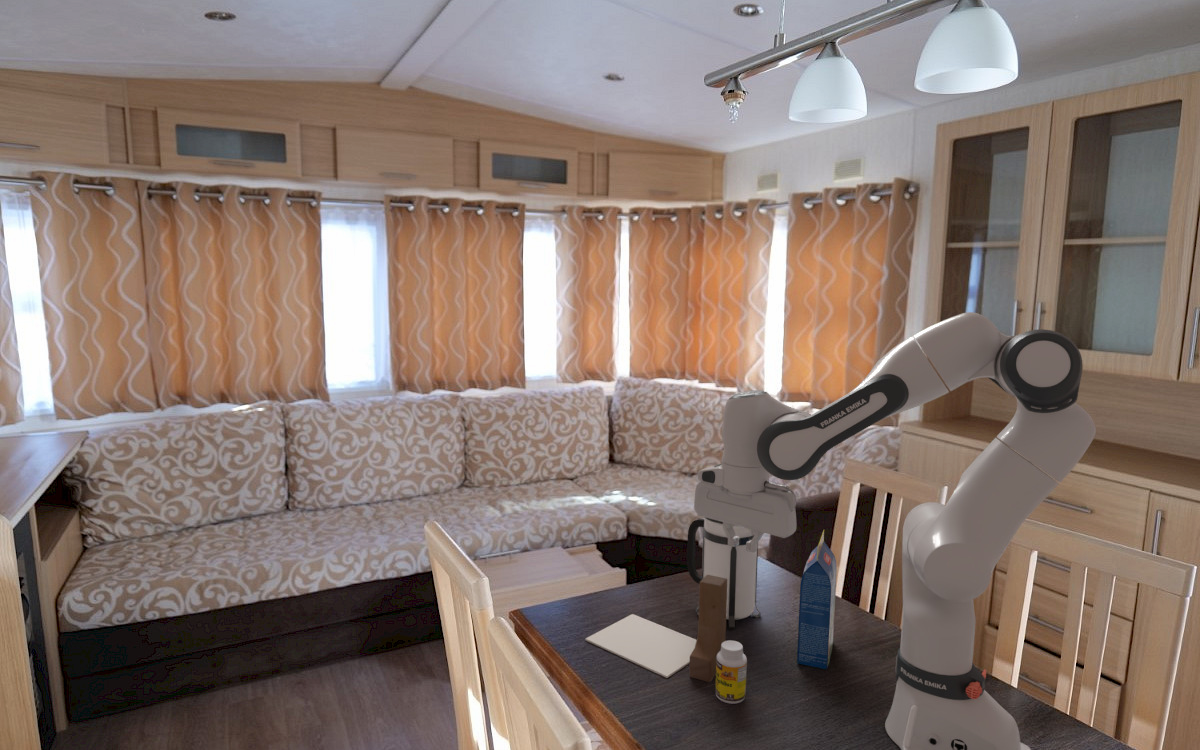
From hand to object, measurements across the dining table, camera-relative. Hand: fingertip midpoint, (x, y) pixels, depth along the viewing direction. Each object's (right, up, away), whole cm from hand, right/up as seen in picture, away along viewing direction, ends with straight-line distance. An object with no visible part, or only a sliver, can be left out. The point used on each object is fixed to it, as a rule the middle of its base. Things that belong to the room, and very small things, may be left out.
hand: (742, 548), depth 135 cm
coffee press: (+2, -24, +32) cm, 40 cm away
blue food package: (+18, -26, +15) cm, 35 cm away
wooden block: (-5, -27, +8) cm, 28 cm away
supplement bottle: (-2, -28, -1) cm, 28 cm away
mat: (-17, -25, +18) cm, 35 cm away
